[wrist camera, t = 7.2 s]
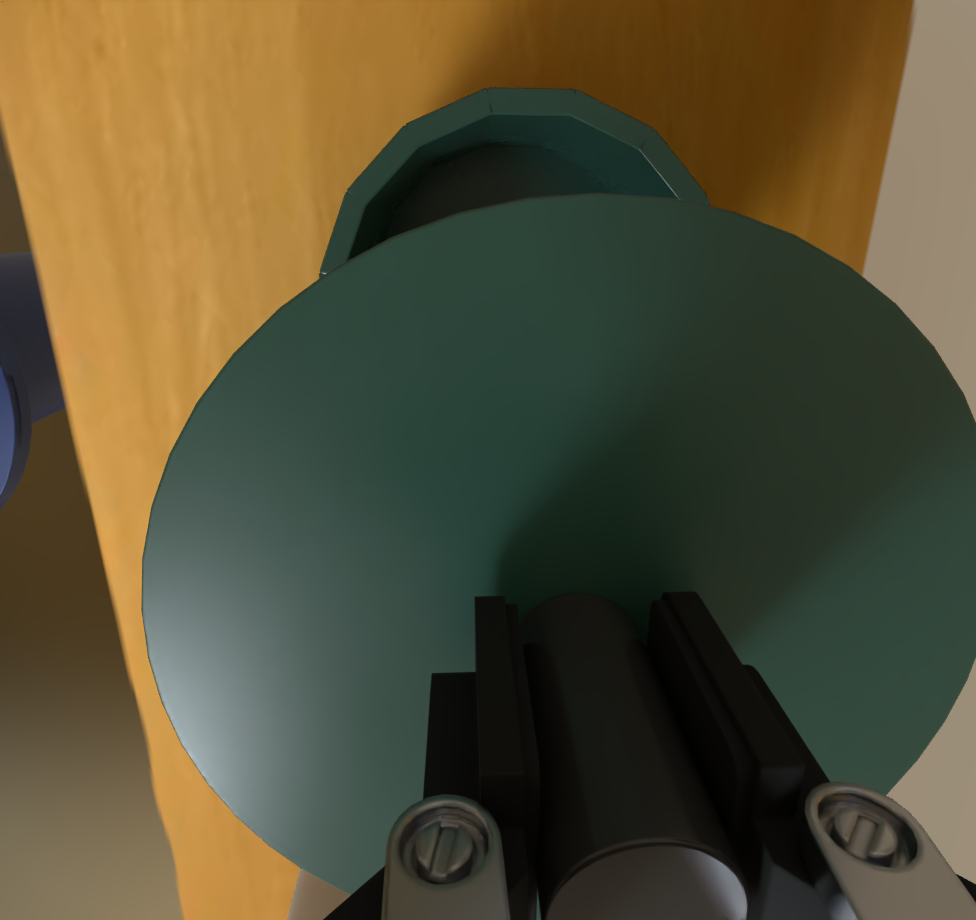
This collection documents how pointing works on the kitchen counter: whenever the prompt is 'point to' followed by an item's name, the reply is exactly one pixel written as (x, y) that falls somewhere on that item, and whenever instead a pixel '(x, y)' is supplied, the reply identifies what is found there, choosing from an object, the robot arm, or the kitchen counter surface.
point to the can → (314, 898)
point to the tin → (503, 163)
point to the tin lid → (562, 531)
